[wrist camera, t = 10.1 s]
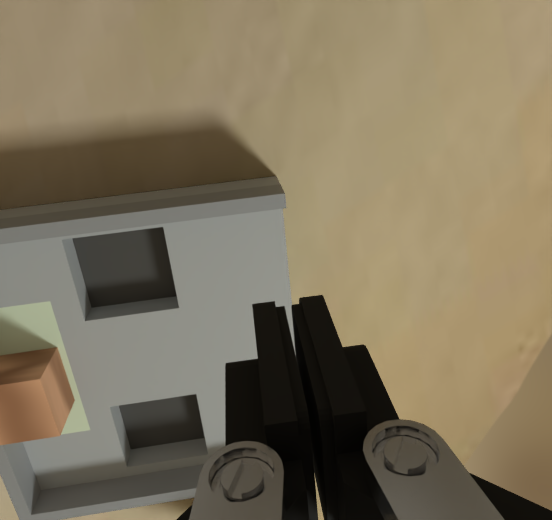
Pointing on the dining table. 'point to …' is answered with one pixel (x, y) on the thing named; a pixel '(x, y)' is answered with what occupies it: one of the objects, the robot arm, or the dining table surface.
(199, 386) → the box
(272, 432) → the robot arm
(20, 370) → the block
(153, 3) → the dining table surface
